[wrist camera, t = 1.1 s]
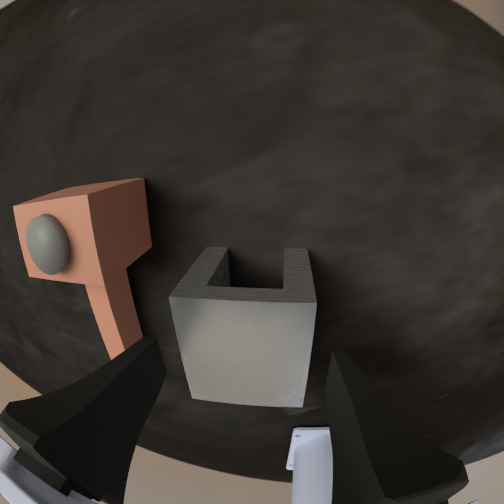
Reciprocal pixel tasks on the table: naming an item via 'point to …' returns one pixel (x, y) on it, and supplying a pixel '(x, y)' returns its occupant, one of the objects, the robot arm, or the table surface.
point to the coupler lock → (245, 332)
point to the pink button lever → (91, 248)
